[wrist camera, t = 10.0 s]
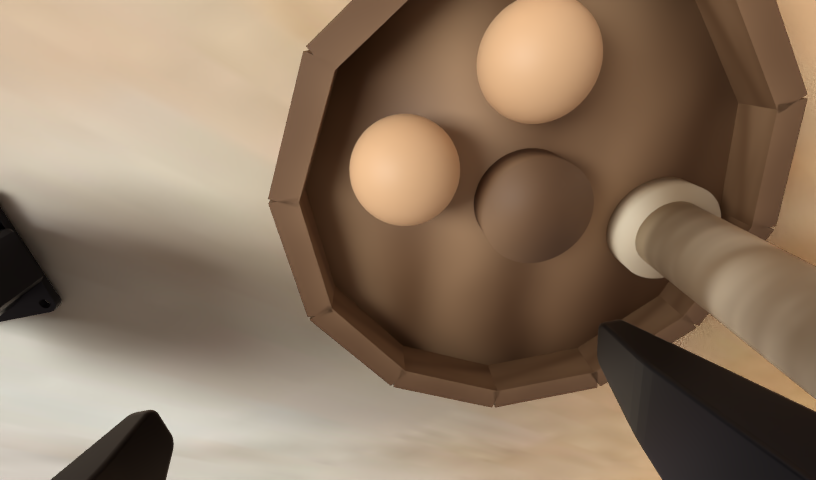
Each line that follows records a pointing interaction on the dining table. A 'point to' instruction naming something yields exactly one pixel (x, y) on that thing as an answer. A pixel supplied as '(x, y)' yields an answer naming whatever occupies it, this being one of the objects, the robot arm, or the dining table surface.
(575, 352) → the walnut tray
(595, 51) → the loose bead
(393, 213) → the loose bead
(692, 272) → the bead post
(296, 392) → the dining table surface
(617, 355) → the robot arm
